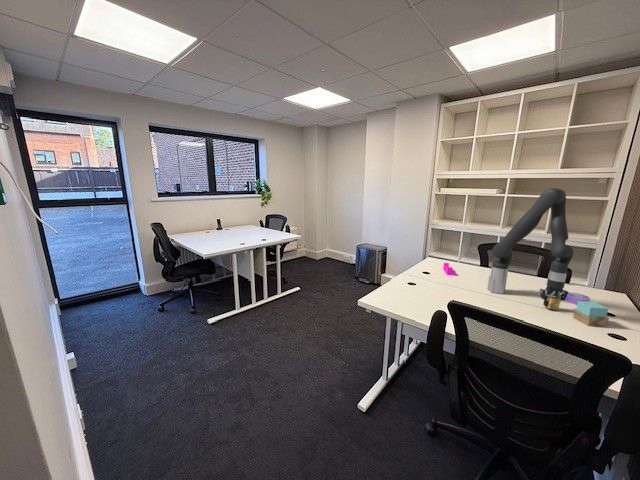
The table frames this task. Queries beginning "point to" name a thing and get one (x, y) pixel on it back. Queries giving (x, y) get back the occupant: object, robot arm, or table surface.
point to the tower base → (590, 319)
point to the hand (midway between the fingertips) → (550, 306)
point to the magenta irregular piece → (448, 269)
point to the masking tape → (576, 298)
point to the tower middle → (592, 309)
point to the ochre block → (553, 303)
